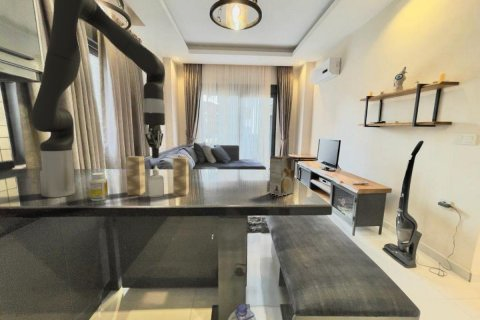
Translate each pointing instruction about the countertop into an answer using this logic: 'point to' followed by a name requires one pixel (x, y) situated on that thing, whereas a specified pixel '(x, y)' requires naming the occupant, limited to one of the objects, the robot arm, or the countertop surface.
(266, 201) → the countertop surface
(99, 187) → the supplement bottle
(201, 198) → the countertop surface
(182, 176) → the post right
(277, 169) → the coffee box
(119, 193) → the countertop surface
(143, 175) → the post left
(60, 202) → the countertop surface
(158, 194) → the eye dropper bottle
